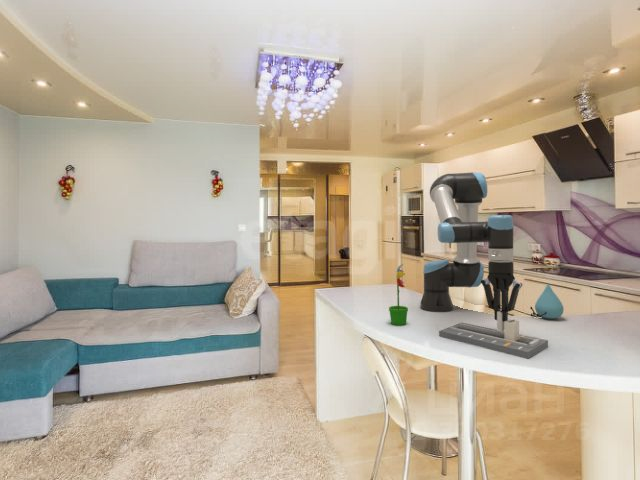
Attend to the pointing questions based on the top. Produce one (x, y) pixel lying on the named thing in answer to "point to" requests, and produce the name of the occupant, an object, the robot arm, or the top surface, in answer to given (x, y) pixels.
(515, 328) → the fader tab
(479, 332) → the console
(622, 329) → the top surface
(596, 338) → the top surface
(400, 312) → the potted flower
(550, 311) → the toy
